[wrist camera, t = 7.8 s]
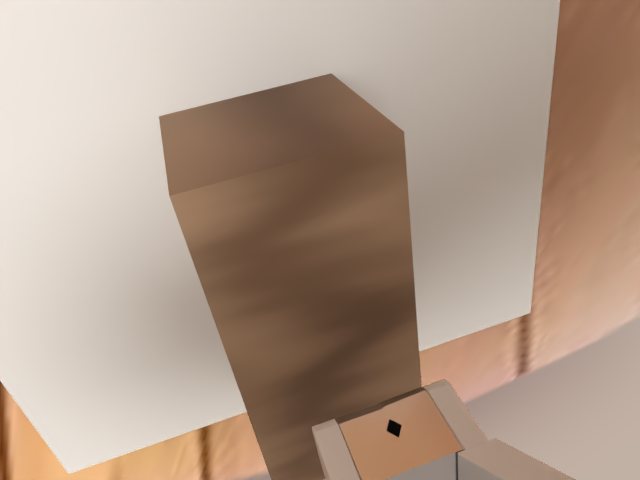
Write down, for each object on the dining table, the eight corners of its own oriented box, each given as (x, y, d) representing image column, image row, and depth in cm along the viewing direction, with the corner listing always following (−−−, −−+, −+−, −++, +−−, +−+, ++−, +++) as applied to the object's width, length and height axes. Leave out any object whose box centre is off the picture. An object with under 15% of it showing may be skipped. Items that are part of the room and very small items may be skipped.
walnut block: (404, 131, 13) (426, 456, 21) (331, 73, 18) (371, 354, 26) (169, 196, 12) (283, 511, 20) (158, 116, 17) (253, 395, 25)
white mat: (572, -317, 15) (591, -327, 15) (521, 303, 29) (530, 312, 28) (-390, -188, 11) (-421, -193, 11) (70, 459, 25) (68, 474, 24)
